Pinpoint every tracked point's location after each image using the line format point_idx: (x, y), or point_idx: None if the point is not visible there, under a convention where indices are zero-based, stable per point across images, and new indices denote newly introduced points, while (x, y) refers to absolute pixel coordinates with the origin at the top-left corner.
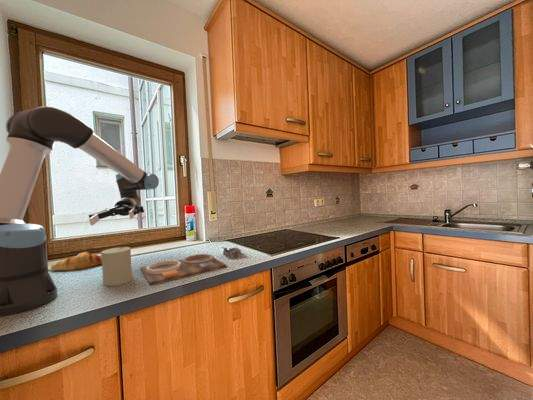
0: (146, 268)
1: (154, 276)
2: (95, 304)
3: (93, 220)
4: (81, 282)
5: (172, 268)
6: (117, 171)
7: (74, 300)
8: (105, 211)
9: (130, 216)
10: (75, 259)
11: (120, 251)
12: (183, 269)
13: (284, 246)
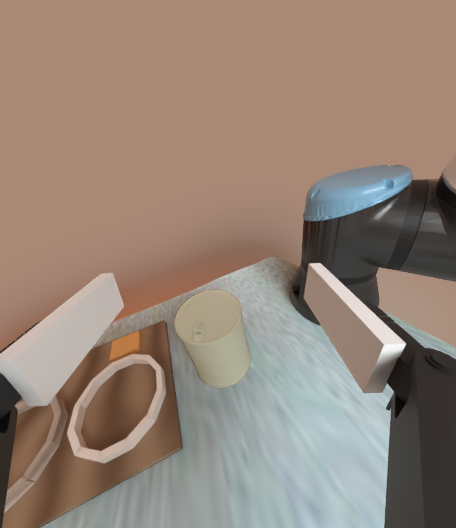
0: (162, 381)
1: (154, 346)
2: (224, 284)
3: (315, 291)
4: (308, 371)
5: (112, 363)
6: None
7: (257, 296)
8: (438, 520)
9: (116, 296)
10: None
11: (194, 299)
12: (91, 376)
13: None
